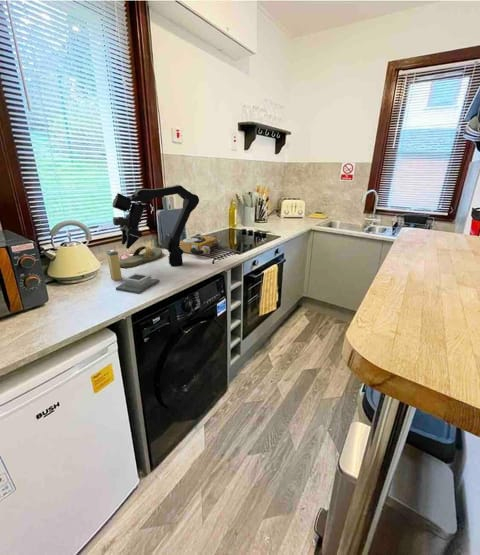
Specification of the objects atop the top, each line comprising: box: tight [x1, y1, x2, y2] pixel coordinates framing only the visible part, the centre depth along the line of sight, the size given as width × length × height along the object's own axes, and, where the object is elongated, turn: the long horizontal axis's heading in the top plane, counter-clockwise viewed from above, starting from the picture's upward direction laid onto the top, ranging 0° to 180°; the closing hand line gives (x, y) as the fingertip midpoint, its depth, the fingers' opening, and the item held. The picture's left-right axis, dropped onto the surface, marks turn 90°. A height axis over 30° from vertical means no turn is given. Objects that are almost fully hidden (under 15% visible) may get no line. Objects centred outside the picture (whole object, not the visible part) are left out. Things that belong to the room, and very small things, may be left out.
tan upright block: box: [105, 249, 123, 282], centre depth 126 cm, size 4×5×14 cm
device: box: [179, 233, 222, 256], centre depth 171 cm, size 23×8×30 cm
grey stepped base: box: [115, 273, 160, 295], centre depth 120 cm, size 14×12×4 cm
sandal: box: [119, 245, 163, 269], centre depth 153 cm, size 12×30×8 cm, turn 151°
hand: (124, 246), depth 130 cm, fingers open, 9 cm apart
